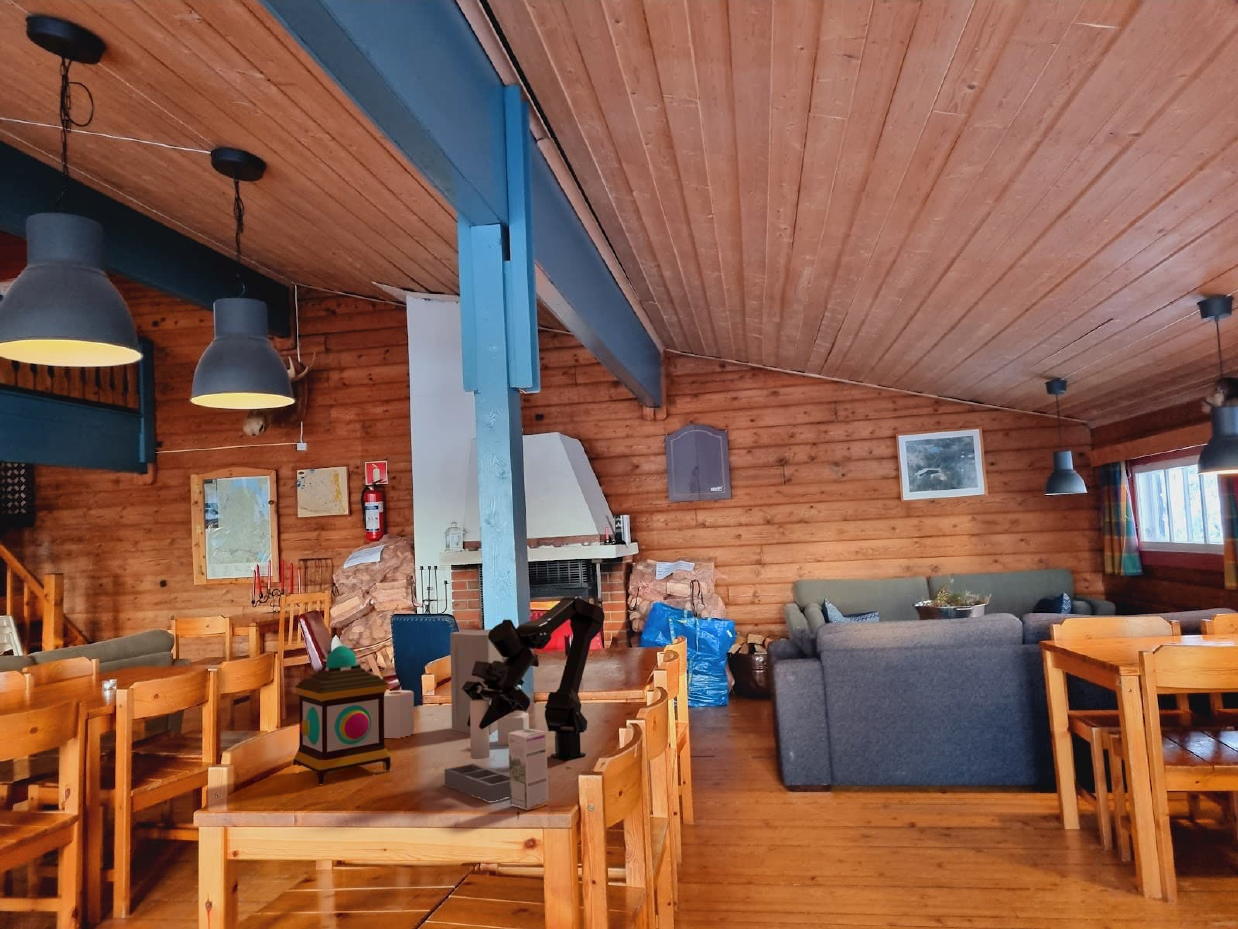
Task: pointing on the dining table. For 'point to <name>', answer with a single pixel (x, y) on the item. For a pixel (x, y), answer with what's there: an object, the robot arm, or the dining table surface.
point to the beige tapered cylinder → (478, 730)
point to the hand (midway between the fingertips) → (474, 727)
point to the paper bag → (468, 672)
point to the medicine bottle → (511, 724)
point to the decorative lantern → (341, 717)
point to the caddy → (478, 781)
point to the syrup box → (528, 767)
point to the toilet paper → (398, 713)
